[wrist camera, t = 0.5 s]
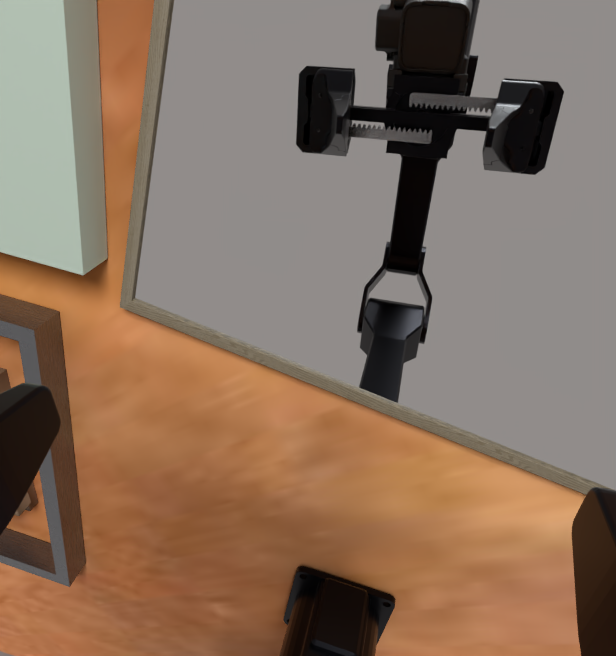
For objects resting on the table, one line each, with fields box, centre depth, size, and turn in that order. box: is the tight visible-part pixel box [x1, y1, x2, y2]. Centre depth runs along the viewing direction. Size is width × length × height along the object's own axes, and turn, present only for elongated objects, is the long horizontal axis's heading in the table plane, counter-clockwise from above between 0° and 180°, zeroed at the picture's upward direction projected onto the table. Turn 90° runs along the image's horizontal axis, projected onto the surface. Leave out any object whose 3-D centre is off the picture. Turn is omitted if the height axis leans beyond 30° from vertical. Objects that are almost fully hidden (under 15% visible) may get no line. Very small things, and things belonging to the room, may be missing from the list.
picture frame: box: [120, 0, 616, 495], centre depth 21 cm, size 19×1×28 cm
